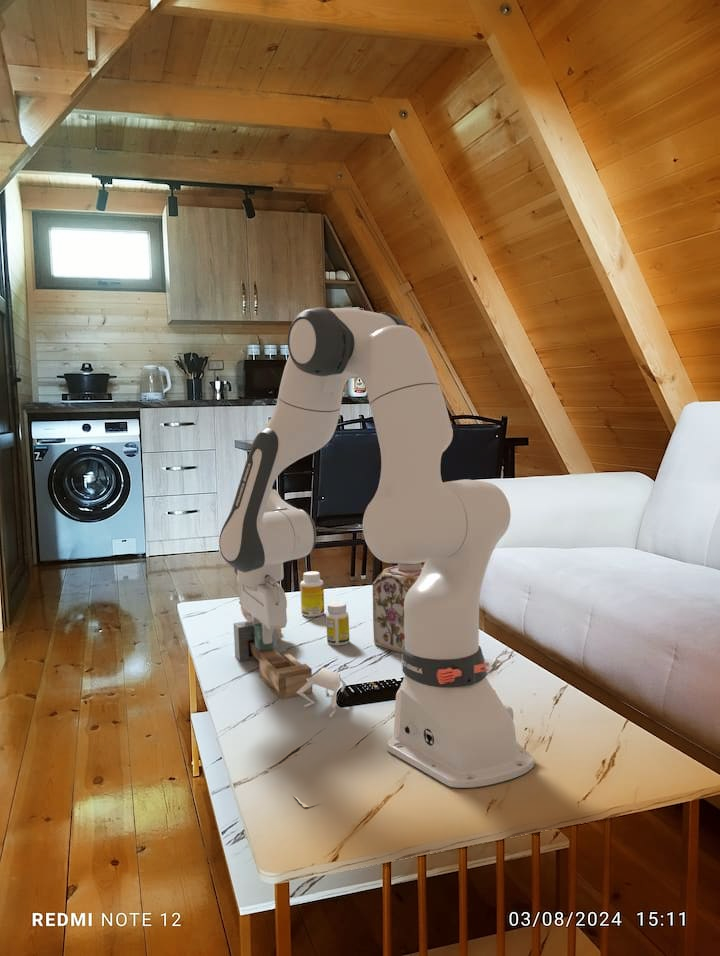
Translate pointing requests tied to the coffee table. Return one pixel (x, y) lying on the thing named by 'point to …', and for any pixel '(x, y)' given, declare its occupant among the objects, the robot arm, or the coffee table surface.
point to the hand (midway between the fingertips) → (263, 639)
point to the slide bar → (265, 649)
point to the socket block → (245, 634)
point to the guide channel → (285, 677)
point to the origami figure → (323, 685)
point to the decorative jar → (392, 604)
